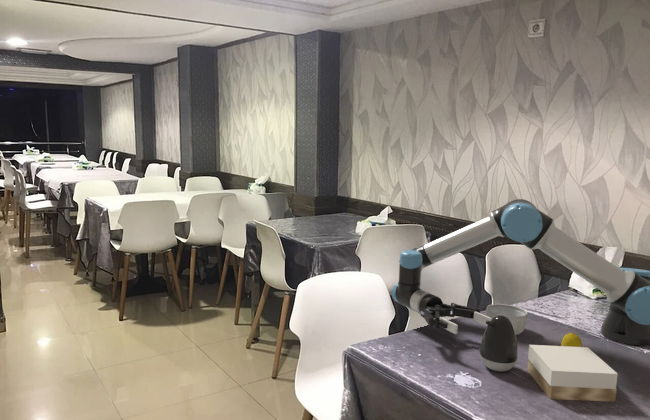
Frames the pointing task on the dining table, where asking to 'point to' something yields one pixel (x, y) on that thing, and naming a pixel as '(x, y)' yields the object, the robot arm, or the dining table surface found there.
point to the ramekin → (509, 315)
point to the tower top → (572, 367)
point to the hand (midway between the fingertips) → (473, 326)
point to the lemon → (571, 340)
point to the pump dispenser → (499, 344)
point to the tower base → (571, 389)
